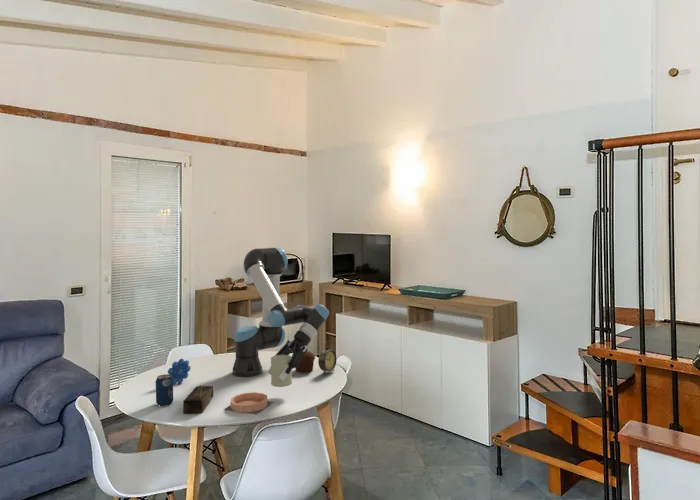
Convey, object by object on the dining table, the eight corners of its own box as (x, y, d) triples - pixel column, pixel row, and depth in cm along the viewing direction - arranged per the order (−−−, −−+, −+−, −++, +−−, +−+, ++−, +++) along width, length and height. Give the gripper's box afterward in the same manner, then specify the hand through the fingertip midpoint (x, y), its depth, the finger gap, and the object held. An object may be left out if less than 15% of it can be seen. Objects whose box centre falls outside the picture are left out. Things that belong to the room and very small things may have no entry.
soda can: (173, 405, 200) (172, 377, 200) (156, 407, 198) (155, 379, 197) (173, 399, 207) (172, 373, 206) (156, 402, 204) (155, 375, 204)
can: (288, 387, 202) (287, 360, 201) (267, 386, 204) (267, 359, 203) (294, 380, 211) (294, 354, 210) (275, 379, 213) (274, 353, 212)
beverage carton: (214, 398, 208) (213, 383, 208) (202, 415, 189) (202, 399, 189) (196, 399, 208) (195, 384, 208) (182, 416, 189) (182, 400, 189)
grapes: (187, 378, 236) (186, 355, 235) (193, 381, 231) (192, 357, 230) (164, 384, 228) (163, 360, 227) (169, 387, 223) (169, 362, 222)
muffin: (316, 367, 252) (315, 348, 252) (315, 373, 241) (314, 354, 241) (293, 367, 252) (293, 349, 251) (292, 374, 241) (291, 354, 240)
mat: (223, 411, 193) (223, 409, 193) (242, 399, 206) (242, 397, 206) (257, 415, 188) (257, 414, 188) (274, 403, 201) (274, 402, 201)
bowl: (223, 410, 192) (223, 403, 192) (243, 397, 207) (243, 390, 206) (255, 414, 187) (255, 407, 187) (273, 401, 201) (273, 394, 201)
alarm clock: (325, 376, 236) (324, 344, 235) (316, 374, 239) (316, 343, 238) (337, 370, 245) (336, 339, 245) (328, 369, 248) (328, 338, 247)
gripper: (287, 325, 221) (257, 365, 211) (313, 334, 204) (282, 378, 195) (296, 334, 224) (267, 374, 215) (323, 344, 208) (293, 387, 199)
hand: (275, 376), depth 205 cm, fingers closed on can, 9 cm apart
